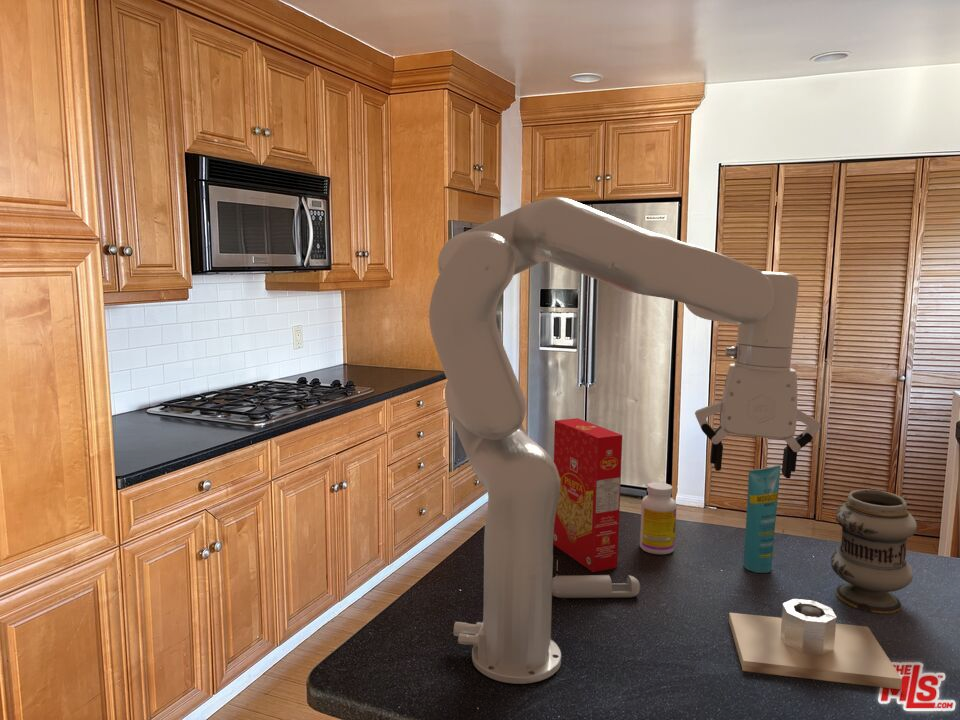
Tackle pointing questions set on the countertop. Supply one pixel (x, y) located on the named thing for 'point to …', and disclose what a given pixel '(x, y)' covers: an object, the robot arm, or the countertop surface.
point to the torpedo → (593, 587)
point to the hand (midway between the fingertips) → (751, 472)
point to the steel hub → (808, 628)
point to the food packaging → (588, 492)
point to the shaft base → (848, 662)
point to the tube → (761, 518)
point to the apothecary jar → (873, 550)
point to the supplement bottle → (658, 519)
